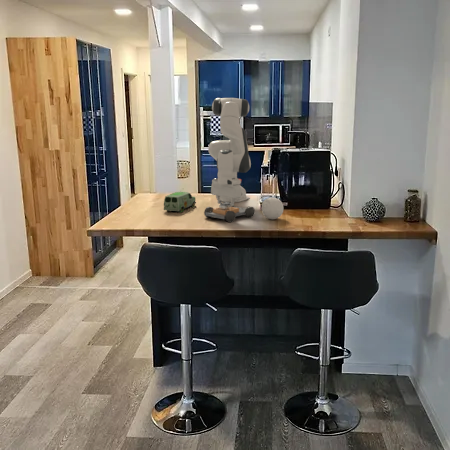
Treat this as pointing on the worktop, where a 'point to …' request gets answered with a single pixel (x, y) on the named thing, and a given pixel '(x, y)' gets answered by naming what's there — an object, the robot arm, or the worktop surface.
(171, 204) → the toy car
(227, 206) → the grey wooden block
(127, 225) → the worktop surface
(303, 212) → the worktop surface
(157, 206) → the worktop surface
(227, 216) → the chassis
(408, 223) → the worktop surface
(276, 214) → the decorative ball
